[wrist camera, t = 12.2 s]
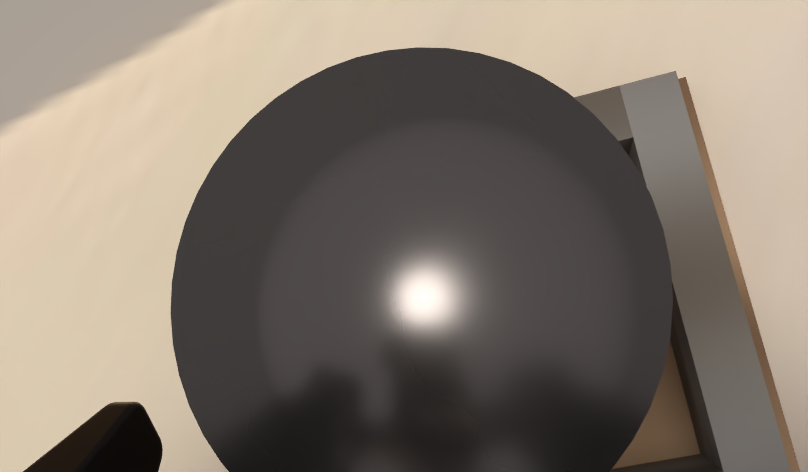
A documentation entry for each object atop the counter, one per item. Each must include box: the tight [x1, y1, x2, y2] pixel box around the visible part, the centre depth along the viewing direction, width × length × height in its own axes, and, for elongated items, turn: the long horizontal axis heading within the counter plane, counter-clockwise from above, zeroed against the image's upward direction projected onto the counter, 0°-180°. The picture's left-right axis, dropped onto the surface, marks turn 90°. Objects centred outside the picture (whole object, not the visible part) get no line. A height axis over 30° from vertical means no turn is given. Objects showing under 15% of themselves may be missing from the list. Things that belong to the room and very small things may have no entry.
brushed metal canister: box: [171, 48, 673, 472], centre depth 13 cm, size 4×4×13 cm
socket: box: [575, 71, 800, 472], centre depth 18 cm, size 11×11×4 cm
